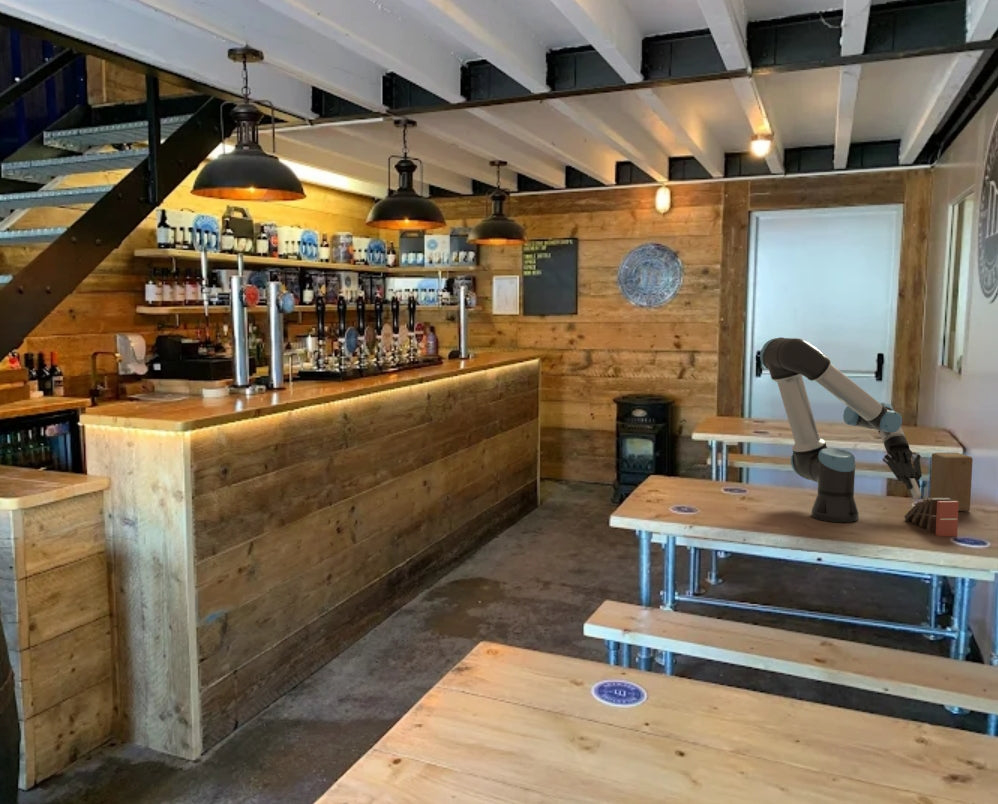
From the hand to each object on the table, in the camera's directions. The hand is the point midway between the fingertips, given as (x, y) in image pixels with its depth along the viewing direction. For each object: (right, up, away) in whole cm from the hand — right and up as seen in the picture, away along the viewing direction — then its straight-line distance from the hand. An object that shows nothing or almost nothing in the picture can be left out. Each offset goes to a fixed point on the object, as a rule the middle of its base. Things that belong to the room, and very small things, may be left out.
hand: (917, 496), depth 268 cm
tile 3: (0, -9, -7) cm, 12 cm away
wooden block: (+21, -7, +17) cm, 28 cm away
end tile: (0, -10, -17) cm, 20 cm away
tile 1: (0, -8, +2) cm, 8 cm away
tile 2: (0, -8, -3) cm, 9 cm away
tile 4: (0, -10, -12) cm, 16 cm away
